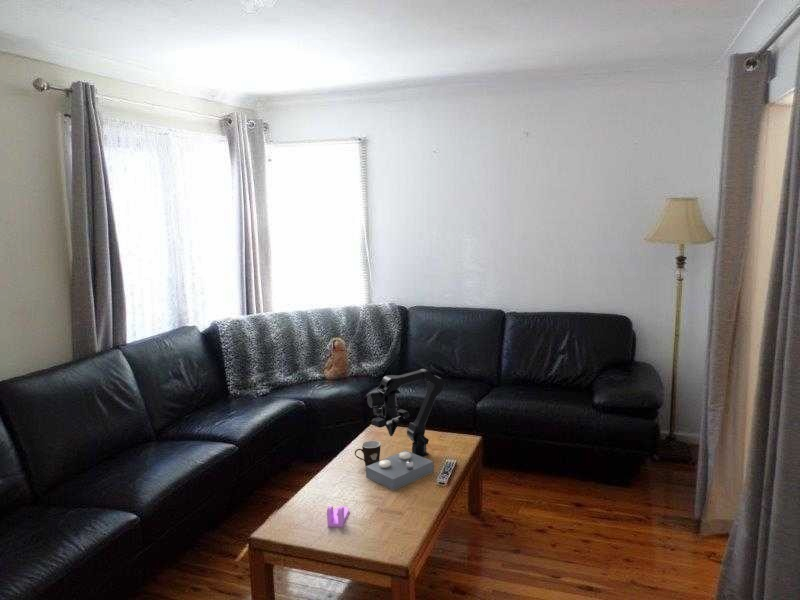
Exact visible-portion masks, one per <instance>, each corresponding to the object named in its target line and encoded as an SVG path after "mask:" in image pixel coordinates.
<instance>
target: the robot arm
mask: <svg viewBox="0 0 800 600" xmlns="http://www.w3.org/2000/svg"><path fill="white" fill-rule="evenodd" d="M421 380H425V381H426V382H427V384H426V394H425V397H424V399H423V401H422V403H421V405H420V406H421V407H420V409H419V411H418V414H417V416H416V418H415V420H414V421H412V422H411V421H410V422H409V424H408V427H406V430H407V431H406V434H407V437H408V438H409V439H410V441H412V444H411V445H412V446H411V453H414V454H416V455H419V456H421V457H425V456H428V455H430V453H429V452H427V445H428V444H429V439H428V438H427V437H426V436H425V434H426V423H427V421H428V418H429V416H430V413H431V411H432V408H433V406H434V405H435V401H436V399H437V397H438V396H439V395H440V394H441V393H442V391H443V390H444V388H445V386H446V381H445V380H444V379H443V378H442V377H439V376H438V375H434V374H433V373H432V372H430V371H429V370H428V369H425V368H420V369H419V370H415V371H410V372H408V373H404V374H400V375H398V374H397V375H396V374H394V375H393V374H391V375H390V374H389V375H385V376H383V377H382V379H381V382H380V384H379V386H378V387H377V389H376V391H370V392H368V396H367V399H366V400H367V405H368V407H369V408H373V409H372V412H373V415H374V416H377V417H375V418H373V419H371V425H372V426H375V427H377V428H383V427H386V430H387V432H388V434H389V436H390V437H393V436H394V434H395V431H396V430H397V427H398V425H399V424H400V423H401V420H399V418H400V417H403V419H408V418H410V413H409V411H407V410H405V409H402V408H401V409H398V408H399V405H398V404H397V395H398V394H401V391H400V390H399V389H400V388H401V387H402V386H403V385H407V384H411V383H414V382H417V381H421ZM380 416H381V417H380Z"/></svg>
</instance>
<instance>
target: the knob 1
mask: <svg viewBox="0 0 800 600" xmlns="http://www.w3.org/2000/svg"><path fill="white" fill-rule="evenodd" d="M381 460H382V461H380V460H379V461H380V462H379V467H381V468H384V469H385V468H388V467H390V466H391V461H389V460H383V459H381Z"/></svg>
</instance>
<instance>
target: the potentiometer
mask: <svg viewBox="0 0 800 600" xmlns="http://www.w3.org/2000/svg"><path fill="white" fill-rule="evenodd" d="M406 469H407V470H412V469H413V461H411V460H410V458H409V461H406Z"/></svg>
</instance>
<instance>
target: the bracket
mask: <svg viewBox="0 0 800 600" xmlns="http://www.w3.org/2000/svg"><path fill="white" fill-rule="evenodd" d="M349 513H350V509H349V507H347V506H345V505H340V506H337V507H336V508H334V506H332V505H330V506H327V508H326V520H327V521H326V522H327V524H326V525H327V527H331V528H334V527H335V528H343V525H344V524H345V522H346V520H347V517H348V516H349Z"/></svg>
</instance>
